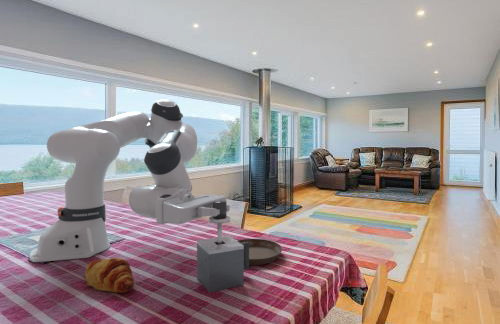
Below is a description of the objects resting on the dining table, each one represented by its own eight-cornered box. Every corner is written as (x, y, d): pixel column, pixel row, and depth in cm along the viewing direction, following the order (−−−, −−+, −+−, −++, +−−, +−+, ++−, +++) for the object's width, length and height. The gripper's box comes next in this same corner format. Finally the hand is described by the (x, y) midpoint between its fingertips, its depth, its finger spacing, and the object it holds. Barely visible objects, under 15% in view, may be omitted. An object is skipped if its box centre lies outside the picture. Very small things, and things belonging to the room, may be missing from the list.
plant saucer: (266, 273, 88) (266, 262, 88) (213, 260, 97) (213, 250, 96) (291, 253, 103) (291, 244, 103) (243, 244, 112) (243, 235, 112)
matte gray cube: (209, 292, 76) (209, 251, 75) (197, 277, 84) (197, 240, 83) (255, 282, 82) (256, 243, 81) (240, 269, 90) (240, 234, 89)
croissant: (80, 287, 86) (64, 265, 83) (112, 260, 92) (98, 239, 89) (121, 313, 72) (103, 289, 69) (155, 280, 79) (140, 256, 76)
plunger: (213, 267, 78) (213, 204, 77) (206, 259, 83) (206, 200, 82) (233, 263, 80) (233, 202, 79) (225, 256, 85) (225, 199, 84)
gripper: (201, 209, 96) (242, 214, 90) (152, 225, 78) (199, 233, 71) (201, 188, 95) (242, 192, 89) (151, 199, 77) (199, 205, 71)
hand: (223, 210), depth 80 cm, fingers closed on plunger, 3 cm apart
